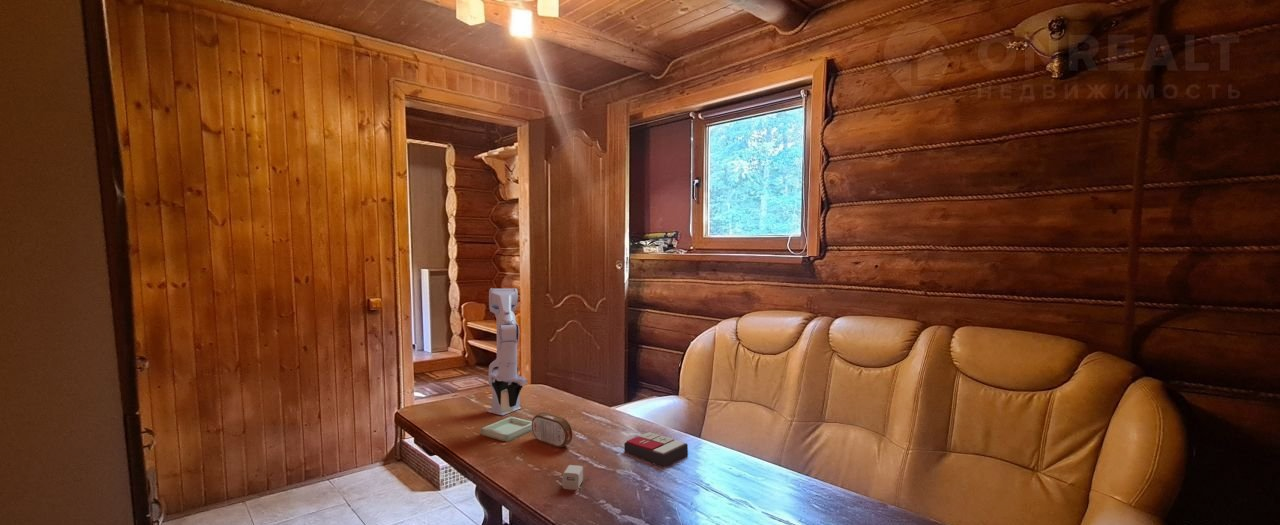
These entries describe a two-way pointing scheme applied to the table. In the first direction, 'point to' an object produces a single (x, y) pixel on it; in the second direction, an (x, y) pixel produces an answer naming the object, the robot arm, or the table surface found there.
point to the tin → (552, 429)
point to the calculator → (657, 449)
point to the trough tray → (507, 429)
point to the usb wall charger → (572, 477)
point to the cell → (505, 402)
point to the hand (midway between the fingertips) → (507, 404)
